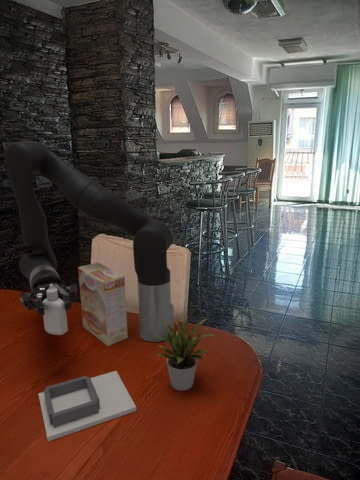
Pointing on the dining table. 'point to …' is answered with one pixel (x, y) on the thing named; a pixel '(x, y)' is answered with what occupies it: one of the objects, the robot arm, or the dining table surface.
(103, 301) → the coffeecake box
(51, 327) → the eye dropper bottle
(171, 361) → the house plant
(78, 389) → the bottle holder
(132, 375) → the dining table surface
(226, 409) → the dining table surface
